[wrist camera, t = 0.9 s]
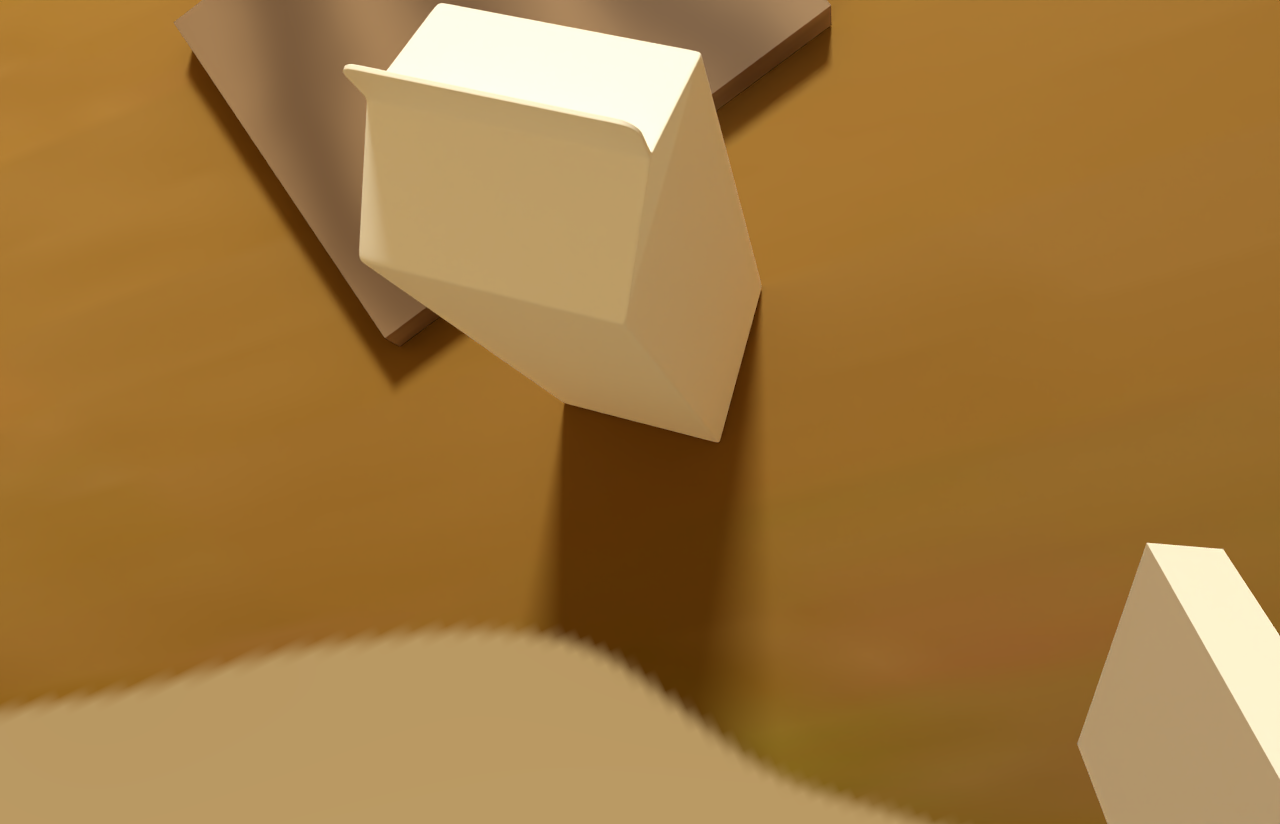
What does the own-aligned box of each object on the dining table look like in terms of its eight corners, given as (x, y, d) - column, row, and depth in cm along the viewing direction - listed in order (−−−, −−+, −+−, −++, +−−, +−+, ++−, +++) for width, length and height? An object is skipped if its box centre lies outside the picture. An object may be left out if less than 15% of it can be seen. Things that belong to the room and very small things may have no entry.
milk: (720, 444, 42) (595, 295, 21) (560, 403, 43) (284, 221, 22) (764, 281, 43) (686, -28, 21) (605, 245, 44) (379, -83, 22)
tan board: (589, -264, 47) (580, -292, 46) (831, 25, 44) (830, 5, 42) (193, 39, 48) (173, 22, 47) (399, 346, 45) (385, 338, 43)
